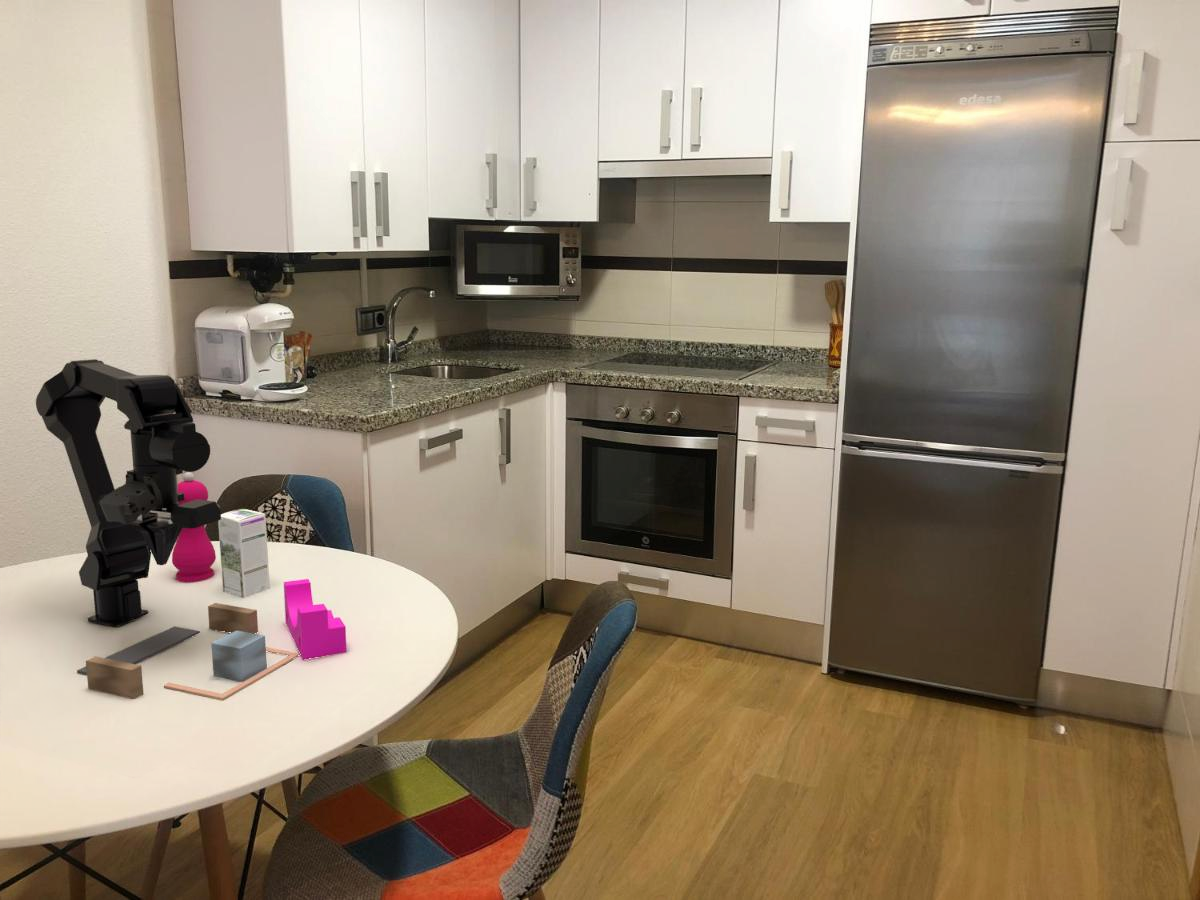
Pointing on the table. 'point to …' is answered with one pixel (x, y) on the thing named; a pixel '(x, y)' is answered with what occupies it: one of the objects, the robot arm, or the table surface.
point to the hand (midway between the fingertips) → (161, 564)
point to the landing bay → (241, 685)
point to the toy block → (312, 622)
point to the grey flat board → (150, 646)
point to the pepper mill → (193, 539)
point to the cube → (239, 656)
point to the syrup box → (243, 552)
